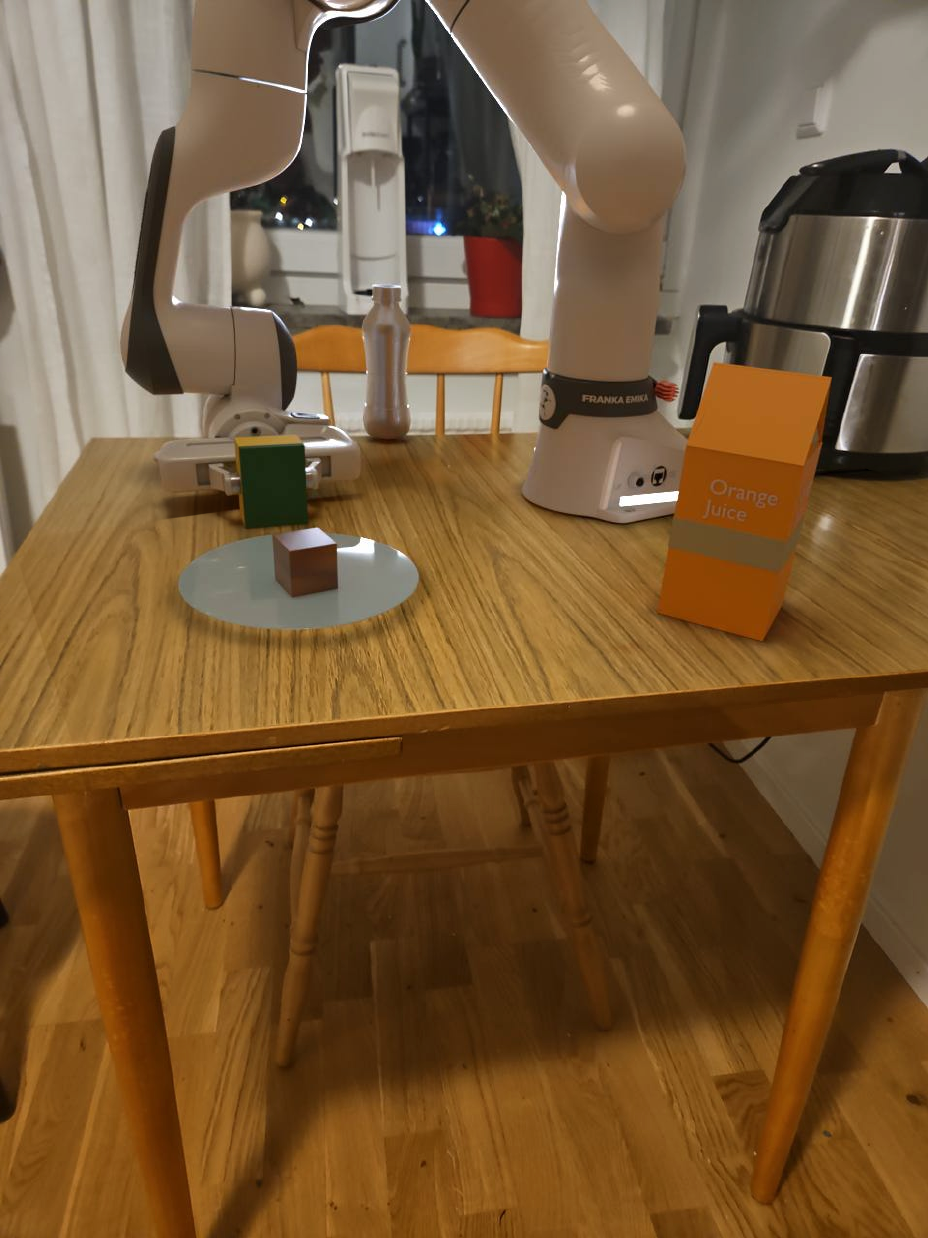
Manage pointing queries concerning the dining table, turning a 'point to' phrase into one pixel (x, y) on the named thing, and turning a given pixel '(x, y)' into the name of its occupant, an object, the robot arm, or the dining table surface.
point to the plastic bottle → (386, 365)
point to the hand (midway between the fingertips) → (273, 484)
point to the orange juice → (743, 497)
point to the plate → (251, 596)
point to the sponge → (271, 480)
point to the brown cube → (305, 561)
